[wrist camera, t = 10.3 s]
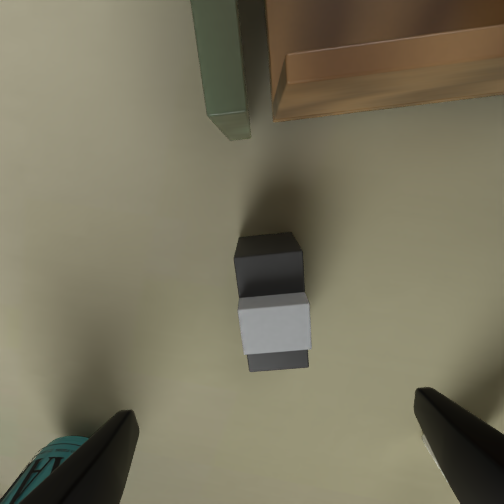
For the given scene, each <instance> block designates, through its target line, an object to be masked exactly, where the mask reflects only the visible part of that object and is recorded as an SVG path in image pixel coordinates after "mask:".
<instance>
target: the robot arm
mask: <svg viewBox="0 0 504 504" xmlns="http://www.w3.org/2000/svg"><path fill="white" fill-rule="evenodd" d="M414 413H415V416H416V418H417V420H418V422H419V424H420V426H421V429H422V431H423V433H424V435H425V437H426V439H427V441H428V443H429V445H430V447H431V450H432V452H433V454H434V456H435V458H436V460H437V462H438V464H439V466H440V468H441V470H442V472H443V474H444V476H445V478H446V480H447V481H448V483H449V485H450V487H451V488H452V490H453V492H454V494H455V495H456V497H457V499H458V500H459V502H460V504H504V434H502V433H501V432H499V431H498V430H496V429H495V428H493V427H492V426H490V425H488V424H487V423H485V422H484V421H482V420H481V419H479V418H478V417H476V416H475V415H473V414H472V413H470V412H469V411H467V410H465V409H464V408H462V407H461V406H459V405H458V404H456V403H455V402H453V401H452V400H450V399H449V398H447V397H445V396H444V395H442V394H441V393H439V392H438V391H436V390H435V389H433V388H431V387H423V388H417V389H416V391H415V400H414ZM138 437H139V426H138V423H137V420H136V417H135V414H134V411H133V410H121V411H119V412H117V413H116V414H115V415H114V416H113V417H112V418H111V419H110V420H108V421H107V422H106V423H105V424H104V425H103V426H102V427H101V428H100V429H99V430H98V431H97V432H95V433H94V434H93V435H92V436H91V437H90V438H89V439H88V440H87V441H86V442H85V443H83V444H82V445H81V446H80V447H79V448H78V449H77V450H76V451H75V452H74V453H73V454H71V455H70V456H69V457H68V458H67V459H66V460H65V461H64V462H63V463H62V464H61V465H60V466H58V467H57V468H56V469H55V470H54V471H53V472H52V473H51V474H50V475H49V476H48V477H46V478H45V479H44V480H43V481H42V482H41V483H40V484H39V485H38V486H37V487H36V488H34V489H33V490H32V491H31V492H30V493H29V494H28V495H27V496H26V497H25V498H24V499H23V500H21V501H20V502H19V503H18V504H119V503H120V500H121V497H122V494H123V491H124V488H125V484H126V481H127V477H128V473H129V470H130V466H131V462H132V459H133V455H134V451H135V448H136V444H137V440H138Z"/></svg>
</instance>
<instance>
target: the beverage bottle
mask: <svg viewBox="0 0 504 504" xmlns="http://www.w3.org/2000/svg"><path fill="white" fill-rule="evenodd" d="M88 439H89V438H86V437H81V436H65V437H60V438H57V439H55V440H53V441H52V442H50V443H49V444H48V445H47V446H46V447H44V448H42V450H41V452H40V453H39V454H37V457H36V456H35V457H36V458H35V457H33V458H35V459H34V460H33V458H32V460H33V462H31V463H30V464H29V463H28V465H27V467H26V469H25V468H24V469H25V470H24V469H23V470H24V471H22V472H23V473H21V474H20V475H19V477H18V478H17V479H16V480H15V482H14V483H13V484H12V485H11V487H10V488H9V489H8V491H7V492H6V493H5V494H4V496H3V497H2V498H1V499H0V504H18V503H19V502H20V501H21V500H23V499H24V498H25V497H26V496H27V495H28V494H29V493H30V492H31V491H32V490H33V489H34V488H36V487H37V486H38V485H39V484H40V483H41V482H42V481H43V480H44V479H45V478H46V477H48V476H49V475H50V474H51V473H52V472H53V471H54V470H55V469H56V468H57V467H58V466H60V465H61V464H62V463H63V462H64V461H65V460H66V459H67V458H68V457H69V456H70V455H71V454H73V453H74V452H75V451H76V450H77V449H78V448H79V447H80V446H81V445H82V444H83V443H85V442H86V441H87V440H88ZM39 451H40V450H39ZM39 451H38V452H39Z"/></svg>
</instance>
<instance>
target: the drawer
mask: <svg viewBox="0 0 504 504" xmlns="http://www.w3.org/2000/svg"><path fill="white" fill-rule="evenodd" d="M190 1H191V8H192V15H193V22H194V29H195V36H196V43H197V50H198V57H199V64H200V71H201V77H202V84H203V91H204V98H205V105H206V112H207V116H208V117H209V118H210V119H211V120H212V122H213V123H214V124H215V125H216V126H217V127H218V128H219V129H220V130H221V132H222V133H223V134H224V135H225V136H226V137H227V138H228V139H229V140H230V141H233V140H242V139H250V138H251V129H250V119H249V109H248V99H247V89H246V79H245V69H244V59H243V49H242V39H241V29H240V19H239V9H238V0H190ZM264 8H265V21H266V34H267V48H268V61H269V74H270V88H271V101H272V114H273V122H281V121H290V120H298V119H306V118H314V117H323V116H331V115H339V114H347V113H356V112H364V111H372V110H380V109H389V108H397V107H405V106H413V105H422V104H430V103H438V102H446V101H455V100H463V99H471V98H479V97H488V96H496V95H504V0H264Z"/></svg>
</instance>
